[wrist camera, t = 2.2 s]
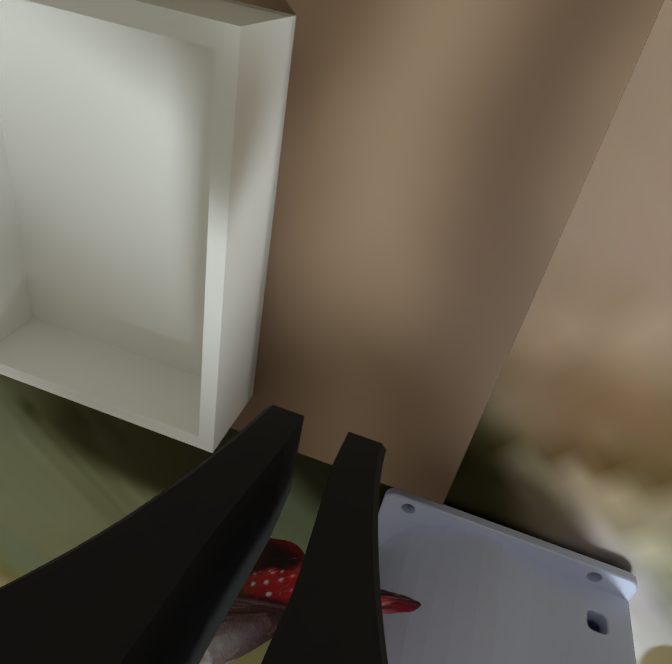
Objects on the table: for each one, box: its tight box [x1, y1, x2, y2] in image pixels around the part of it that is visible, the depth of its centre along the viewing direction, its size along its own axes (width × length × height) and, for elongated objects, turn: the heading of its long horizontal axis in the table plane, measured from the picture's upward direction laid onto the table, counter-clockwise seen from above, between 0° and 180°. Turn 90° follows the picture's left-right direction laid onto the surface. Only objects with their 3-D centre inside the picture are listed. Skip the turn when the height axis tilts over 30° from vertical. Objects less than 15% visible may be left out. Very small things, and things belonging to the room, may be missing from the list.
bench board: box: [230, 0, 664, 505], centre depth 17 cm, size 28×16×5 cm, turn 80°
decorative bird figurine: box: [199, 538, 421, 664], centre depth 21 cm, size 3×18×10 cm, turn 128°
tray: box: [0, 0, 296, 453], centre depth 16 cm, size 9×12×3 cm
